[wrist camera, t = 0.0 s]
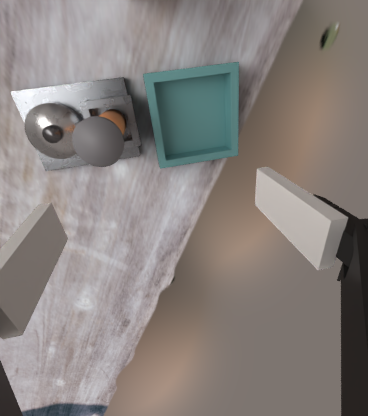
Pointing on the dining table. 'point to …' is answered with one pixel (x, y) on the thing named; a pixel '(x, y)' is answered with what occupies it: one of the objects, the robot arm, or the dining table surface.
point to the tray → (194, 113)
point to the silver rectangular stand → (73, 117)
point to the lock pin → (100, 138)
